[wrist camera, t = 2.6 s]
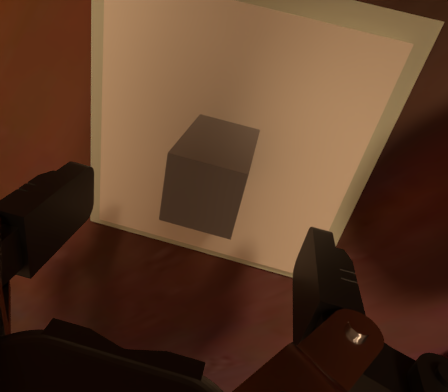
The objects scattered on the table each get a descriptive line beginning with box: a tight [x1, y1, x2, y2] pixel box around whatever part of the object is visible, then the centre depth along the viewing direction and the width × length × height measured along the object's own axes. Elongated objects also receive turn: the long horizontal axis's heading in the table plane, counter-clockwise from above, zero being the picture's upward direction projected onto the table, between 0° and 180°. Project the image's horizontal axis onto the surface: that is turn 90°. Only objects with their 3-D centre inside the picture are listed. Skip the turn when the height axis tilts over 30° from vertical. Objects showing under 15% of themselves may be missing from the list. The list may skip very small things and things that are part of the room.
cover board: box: [99, 0, 414, 273], centre depth 15 cm, size 13×13×6 cm
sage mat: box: [90, 0, 444, 278], centre depth 18 cm, size 15×15×1 cm
